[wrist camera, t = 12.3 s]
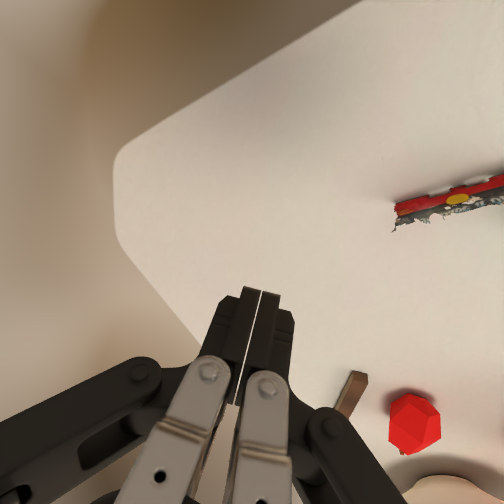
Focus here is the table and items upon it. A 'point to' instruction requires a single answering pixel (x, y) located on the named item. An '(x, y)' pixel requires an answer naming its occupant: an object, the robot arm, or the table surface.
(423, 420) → the apple
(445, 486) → the bowl
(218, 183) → the table surface
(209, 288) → the table surface
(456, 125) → the table surface
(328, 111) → the table surface
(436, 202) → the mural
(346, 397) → the walnut slat
